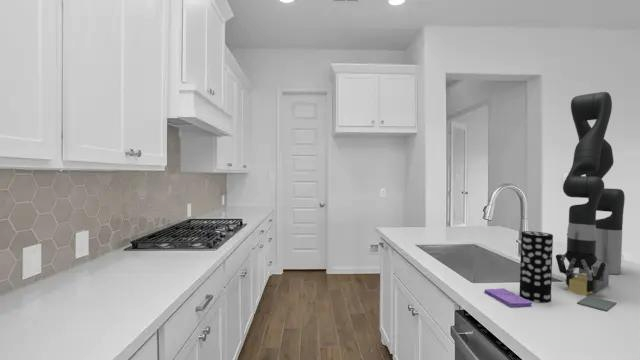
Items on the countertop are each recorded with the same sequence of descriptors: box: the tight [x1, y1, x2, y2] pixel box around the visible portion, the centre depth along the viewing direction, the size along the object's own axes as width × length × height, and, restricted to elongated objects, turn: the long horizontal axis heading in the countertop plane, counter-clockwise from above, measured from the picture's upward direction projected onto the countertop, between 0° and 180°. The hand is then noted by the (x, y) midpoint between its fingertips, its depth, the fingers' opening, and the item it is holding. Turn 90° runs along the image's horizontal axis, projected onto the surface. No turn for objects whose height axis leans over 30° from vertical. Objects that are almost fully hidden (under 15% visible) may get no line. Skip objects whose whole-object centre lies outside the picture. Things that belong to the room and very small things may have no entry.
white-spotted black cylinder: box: [518, 230, 554, 303], centre depth 107 cm, size 8×8×20 cm
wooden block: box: [568, 276, 593, 297], centre depth 115 cm, size 10×4×4 cm, turn 125°
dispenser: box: [572, 263, 610, 294], centre depth 119 cm, size 14×7×7 cm, turn 127°
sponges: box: [483, 287, 533, 309], centre depth 106 cm, size 7×13×2 cm, turn 8°
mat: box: [576, 295, 617, 312], centre depth 103 cm, size 10×7×1 cm
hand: (579, 288), depth 113 cm, fingers closed on wooden block, 4 cm apart
